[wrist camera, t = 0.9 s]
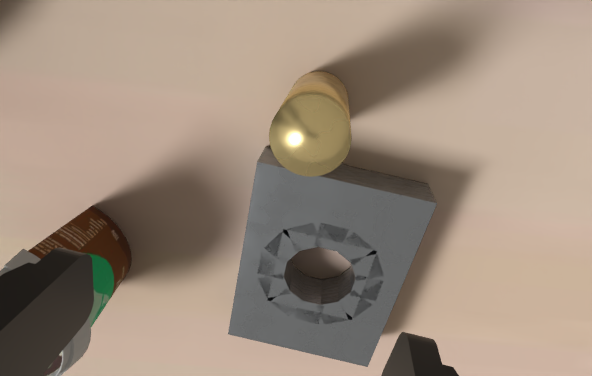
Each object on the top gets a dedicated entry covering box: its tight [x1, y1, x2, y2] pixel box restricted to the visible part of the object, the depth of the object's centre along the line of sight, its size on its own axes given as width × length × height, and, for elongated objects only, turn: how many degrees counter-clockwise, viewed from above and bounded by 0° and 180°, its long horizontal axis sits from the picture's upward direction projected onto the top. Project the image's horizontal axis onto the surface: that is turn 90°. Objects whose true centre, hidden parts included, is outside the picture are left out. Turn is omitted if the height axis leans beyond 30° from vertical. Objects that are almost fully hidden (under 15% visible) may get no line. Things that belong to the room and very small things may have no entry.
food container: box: [0, 206, 131, 376], centre depth 29 cm, size 12×6×10 cm, turn 149°
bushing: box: [269, 71, 351, 177], centre depth 22 cm, size 4×4×8 cm
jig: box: [228, 147, 437, 367], centre depth 29 cm, size 16×12×3 cm
